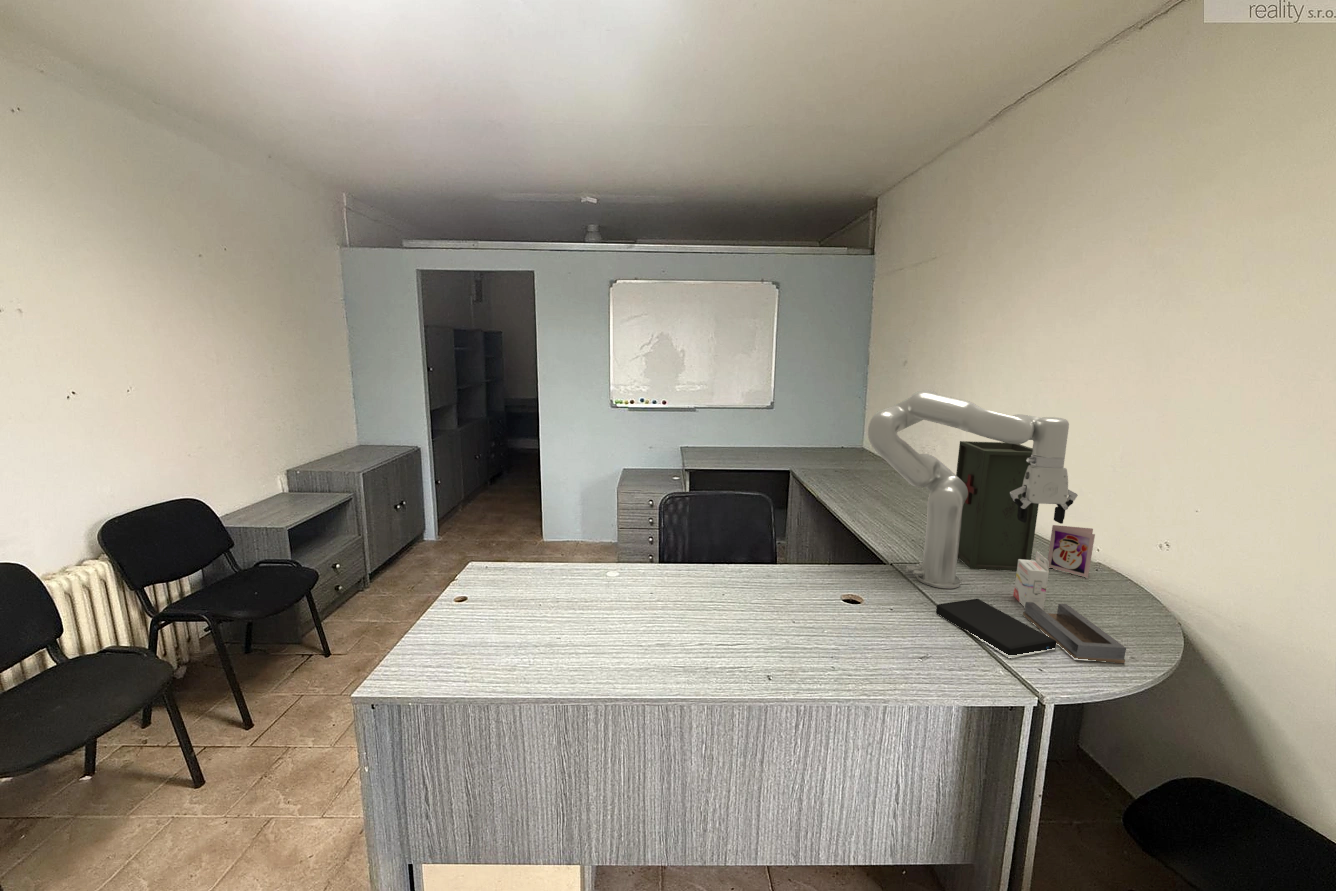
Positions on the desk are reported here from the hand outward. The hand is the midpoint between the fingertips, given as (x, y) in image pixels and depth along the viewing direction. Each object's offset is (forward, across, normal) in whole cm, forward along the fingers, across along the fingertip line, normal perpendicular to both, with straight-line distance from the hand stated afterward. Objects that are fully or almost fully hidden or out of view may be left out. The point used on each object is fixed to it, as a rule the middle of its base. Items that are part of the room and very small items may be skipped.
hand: (1039, 521), depth 153 cm
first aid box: (+24, +3, +32) cm, 41 cm away
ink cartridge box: (+24, -1, -1) cm, 25 cm away
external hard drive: (+25, -19, -18) cm, 36 cm away
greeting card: (+25, +26, +25) cm, 44 cm away
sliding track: (+24, -1, -20) cm, 31 cm away
